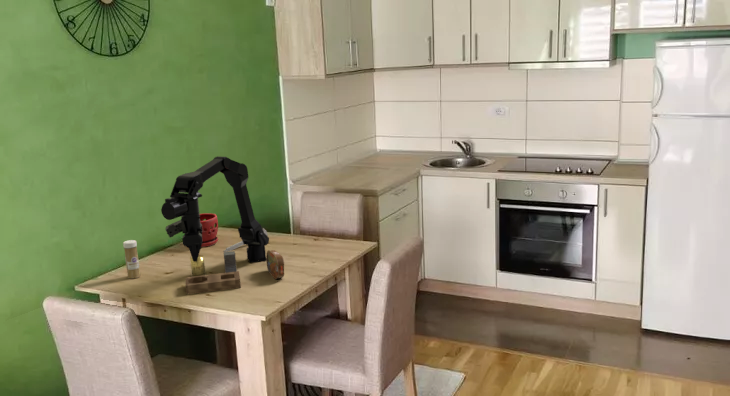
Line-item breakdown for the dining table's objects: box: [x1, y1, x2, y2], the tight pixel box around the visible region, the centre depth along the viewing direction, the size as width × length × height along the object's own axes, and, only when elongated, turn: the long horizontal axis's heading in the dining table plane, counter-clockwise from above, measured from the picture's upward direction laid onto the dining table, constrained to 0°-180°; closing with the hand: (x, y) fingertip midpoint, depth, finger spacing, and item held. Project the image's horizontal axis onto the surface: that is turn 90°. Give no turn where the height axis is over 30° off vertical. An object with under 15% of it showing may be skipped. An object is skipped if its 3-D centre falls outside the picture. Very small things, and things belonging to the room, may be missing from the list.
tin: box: [266, 249, 285, 280], centre depth 241 cm, size 15×3×8 cm, turn 23°
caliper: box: [223, 227, 269, 253], centre depth 279 cm, size 20×1×6 cm, turn 130°
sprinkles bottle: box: [122, 239, 141, 279], centre depth 246 cm, size 5×5×14 cm
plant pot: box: [200, 212, 219, 248], centre depth 284 cm, size 13×13×12 cm
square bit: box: [223, 250, 238, 273], centre depth 248 cm, size 4×4×7 cm
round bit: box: [189, 254, 207, 277], centre depth 245 cm, size 5×5×7 cm
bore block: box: [185, 270, 242, 295], centre depth 233 cm, size 18×9×3 cm, turn 103°
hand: (195, 257), depth 230 cm, fingers open, 9 cm apart
